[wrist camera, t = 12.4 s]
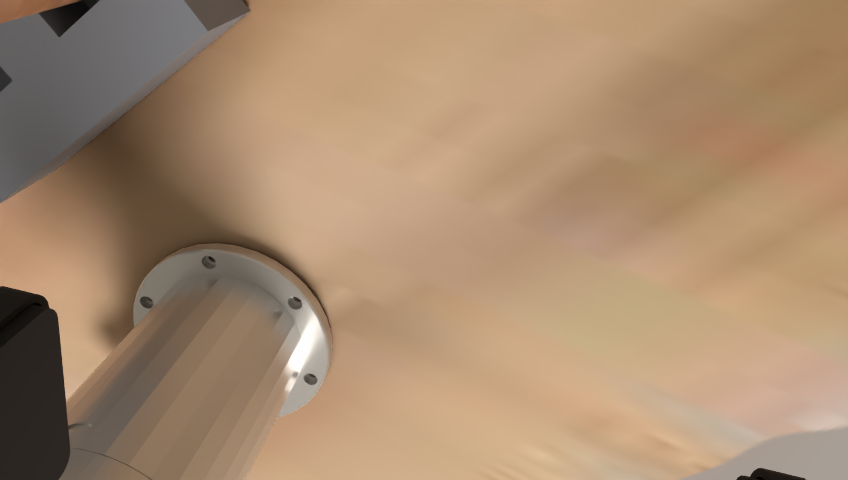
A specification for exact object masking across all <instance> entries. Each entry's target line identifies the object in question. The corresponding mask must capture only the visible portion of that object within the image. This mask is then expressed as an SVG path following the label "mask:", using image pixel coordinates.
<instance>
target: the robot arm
mask: <svg viewBox="0 0 848 480" xmlns="http://www.w3.org/2000/svg"><path fill="white" fill-rule="evenodd" d="M133 323H134V328H133V329H132V330H131V332H130V333H129V334H128V335H127V336H126V337H125V338H124V339H123V340H122V341H121V342H120V344H119V345H118V346H117V347H116V348H115V349H114V350H113V351H112V352H111V353H110V354H109V355H108V357H107V358H106V359H105V360H104V361H103V362H102V363H101V364H100V365H99V366H98V367H97V369H96V370H95V371H94V372H93V373H92V374H91V375H90V376H89V377H88V378H87V379H86V380H85V382H84V383H83V384H82V385H81V386H80V387H79V388H78V389H77V390H76V391H75V392H74V394H73V395H72V396H71V397H70V398H69V399H68V400H67V401H66V398H65V387H64V377H63V366H62V356H61V345H60V335H59V324H58V317H57V313H56V312H55V310H53V309H50V308H49V305H48V301H47V300H46V299H45V297H43V296H41V295H38V294H33V293H29V292H25V291H21V290H17V289H13V288H8V287H4V286H2V287H0V480H245V479H246V477H247V475H248V473H249V471H250V470H251V468H252V466H253V464H254V462H255V460H256V458H257V456H258V454H259V452H260V450H261V448H262V446H263V444H264V442H265V440H266V438H267V436H268V434H269V432H270V431H271V429H272V427H273V425H274V423H275V421H276V419H277V418H279V417H282V416H284V415H287V414H290V413H292V412H295V411H296V410H298V409H299V408H301V407H302V406H304V405H306V404H307V403H308V402H309V401H310V400H311V399H312V398H313V397H314V396H315V395H316V394H317V392H318V390H319V389H320V387H321V385H322V383H323V382H324V380H325V377H326V375H327V373H328V370H329V368H330V365H331V358H332V352H333V347H332V334H331V330H330V327H329V324H328V320H327V317H326V315H325V313H324V311H323V309H322V307H321V305H320V303H319V302H318V300H317V299H316V297H315V296H314V295H313V294H312V292H311V291H310V290H309V288H308V287H307V286H306V285H305V284H304V283H303V282H302V281H301V280H300V279H299V278H298V277H297V276H296V275H295V274H294V273H293V272H291V271H290V270H288V269H287V268H286V267H284V266H283V265H281V264H280V263H278V262H277V261H275V260H273V259H271V258H269V257H267V256H265V255H263V254H261V253H259V252H257V251H254V250H250V249H247V248H244V247H240V246H237V245H229V244H221V243H210V244H197V245H193V246H189V247H186V248H182V249H180V250H178V251H176V252H174V253H172V254H170V255H168V256H166V257H165V258H164V259H163V260H162V261H161V262H159V263H158V264H157V265H156V266H155V267H154V268H153V269H152V270H151V271H150V272H149V273H148V275H147V276H146V277H145V278H144V279H143V281H142V283H141V285H140V287H139V289H138V291H137V293H136V297H135V302H134V306H133ZM737 480H805V478H800V477H796V476H792V475H788V474H784V473H780V472H776V471H771V470H767V469H763V468H758V469H756V470H755V471H754V472H753V473H752V474H751V476H750V477H747V476H740V477H738V478H737Z"/></svg>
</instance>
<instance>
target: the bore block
mask: <svg viewBox="0 0 848 480" xmlns="http://www.w3.org/2000/svg"><path fill="white" fill-rule="evenodd" d="M249 12H250V9H249V8H248V7H247V5H246V4H245V3H244V1H243V0H82V1H78V2H75V3H71V4H68V5H64V6H61V7H57V8H54V9H50V10H46V11H43V12H39V13H36V14H32V15H29V16H25V17H22V18H18V19H14V20H11V21H7V22H4V23H0V203H2V202H3V201H5V200H6V199H8V198H10V197H11V196H13V195H15V194H16V193H18V192H20V191H21V190H23V189H25V188H26V187H28V186H30V185H31V184H33V183H35V182H36V181H38V180H39V179H41V178H43V177H44V176H46V175H48V174H49V173H51V172H53V171H54V170H56V169H57V168H58V167H59V166H61V165H62V164H63V163H64V162H66V161H67V160H68V159H69V158H71V157H72V156H73V155H74V154H75V153H77V152H78V151H79V150H80V149H82V148H83V147H84V146H85V145H87V144H88V143H89V142H90V141H91V140H93V139H94V138H95V137H96V136H98V135H99V134H100V133H101V132H103V131H104V130H105V129H106V128H107V127H109V126H110V125H111V124H112V123H114V122H115V121H116V120H117V119H119V118H120V117H121V116H122V115H123V114H125V113H126V112H127V111H128V110H130V109H131V108H132V107H133V106H135V105H136V104H137V103H138V102H139V101H141V100H142V99H143V98H144V97H146V96H147V95H148V94H149V93H151V92H152V91H153V90H154V89H155V88H157V87H158V86H159V85H160V84H162V83H163V82H164V81H165V80H167V79H168V78H169V77H170V76H171V75H173V74H174V73H175V72H176V71H178V70H179V69H180V68H181V67H183V66H184V65H185V64H186V63H187V62H189V61H190V60H191V59H192V58H194V57H195V56H196V55H197V54H199V53H200V52H201V51H202V50H203V49H205V48H206V47H207V46H208V45H210V44H211V43H212V42H213V41H215V40H216V39H217V38H218V37H219V36H221V35H222V34H223V33H224V32H226V31H227V30H228V29H229V28H231V27H232V26H233V25H234V24H235V23H237V22H238V21H239V20H240V19H242V18H243V17H244V16H245V15H246V14H248V13H249Z"/></svg>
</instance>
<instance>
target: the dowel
mask: <svg viewBox="0 0 848 480" xmlns="http://www.w3.org/2000/svg"><path fill="white" fill-rule="evenodd" d="M78 1H82V0H0V23H4V22H7V21H11V20H14V19H18V18H22V17H25V16H29V15H32V14H36V13H39V12H43V11H46V10H50V9H54V8H57V7H61V6H64V5H68V4H71V3H75V2H78Z"/></svg>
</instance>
